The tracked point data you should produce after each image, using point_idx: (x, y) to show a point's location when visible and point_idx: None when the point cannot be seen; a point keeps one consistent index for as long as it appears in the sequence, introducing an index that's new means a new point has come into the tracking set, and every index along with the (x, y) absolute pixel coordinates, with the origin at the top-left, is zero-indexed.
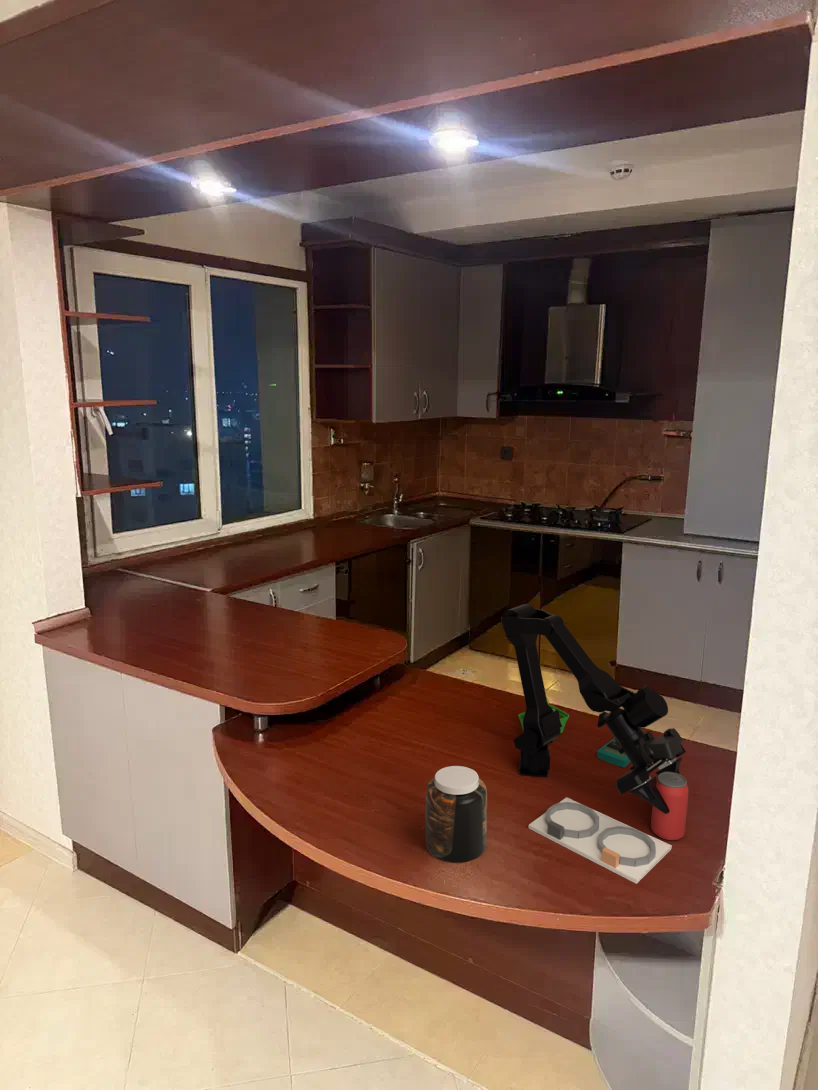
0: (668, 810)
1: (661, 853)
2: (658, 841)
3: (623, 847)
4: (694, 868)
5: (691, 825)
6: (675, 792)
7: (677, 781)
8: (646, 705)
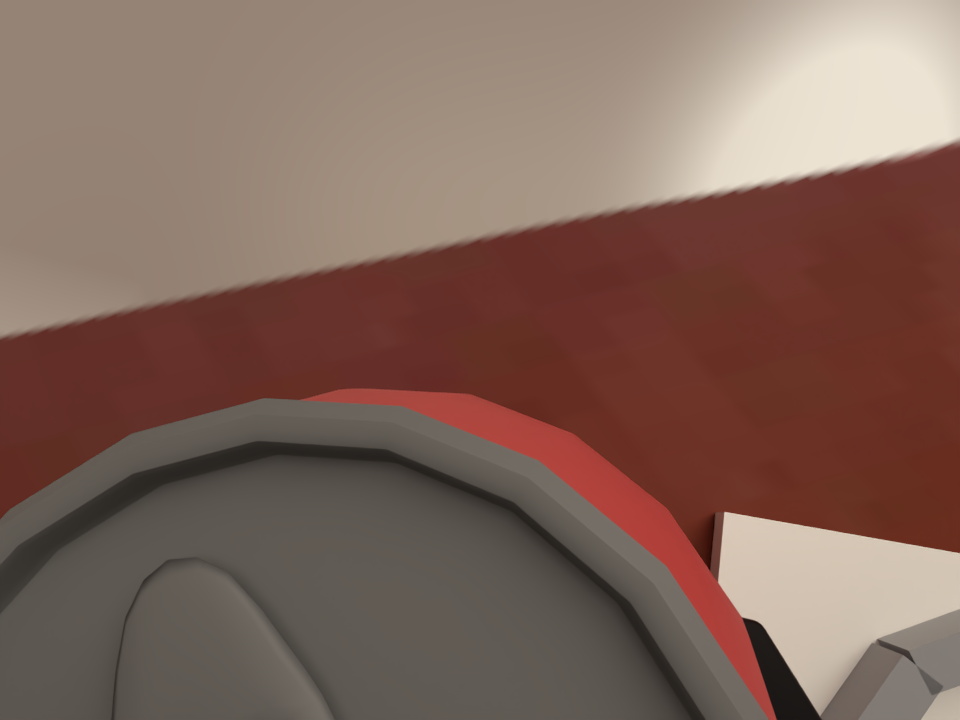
0: (759, 636)
1: (903, 558)
2: None
3: None
4: (837, 295)
5: None
6: (713, 611)
7: (304, 699)
8: None
